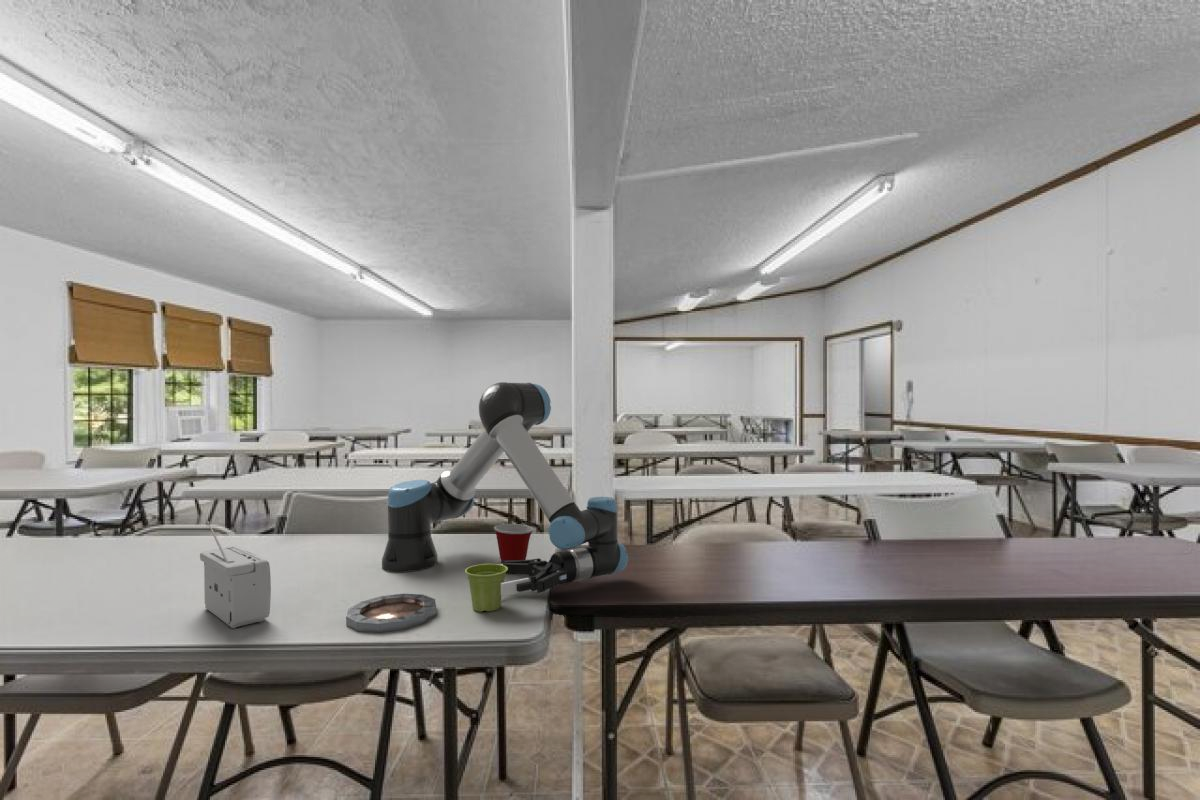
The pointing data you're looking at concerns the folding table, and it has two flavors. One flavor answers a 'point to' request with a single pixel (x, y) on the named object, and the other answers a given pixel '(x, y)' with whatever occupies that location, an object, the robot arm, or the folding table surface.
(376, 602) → the steel ring
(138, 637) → the folding table surface
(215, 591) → the stereo radio cassette player
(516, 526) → the plastic cup
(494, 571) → the plant pot
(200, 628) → the folding table surface
